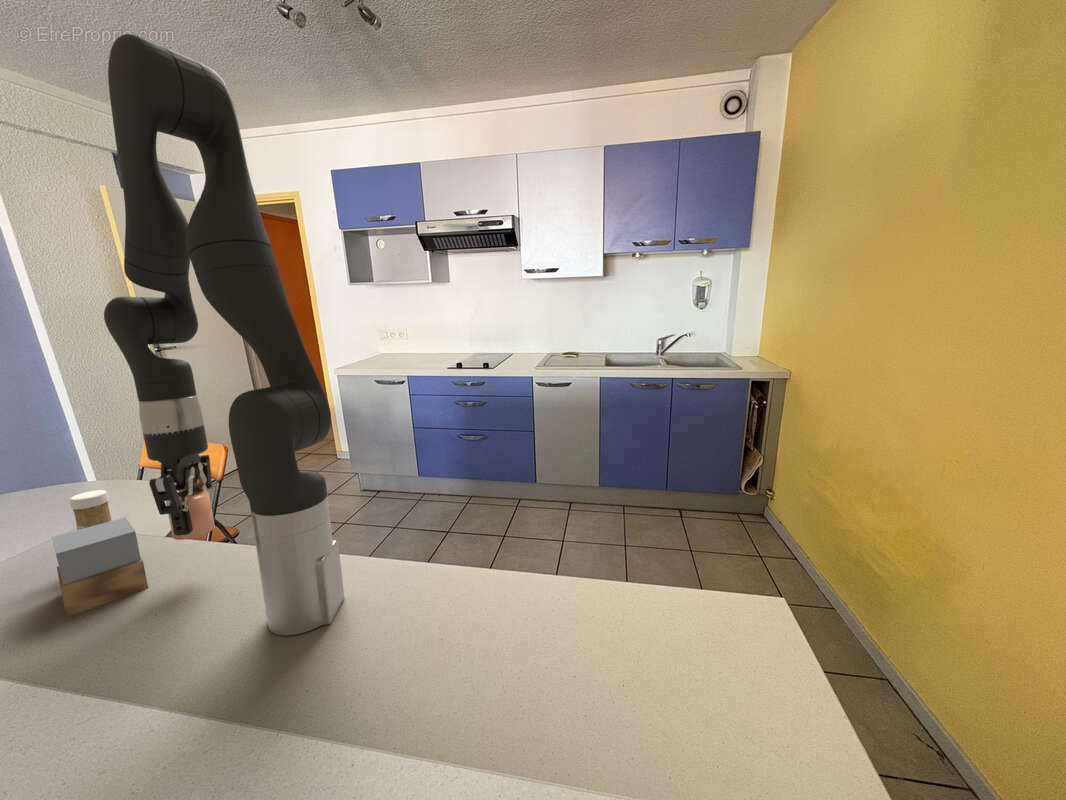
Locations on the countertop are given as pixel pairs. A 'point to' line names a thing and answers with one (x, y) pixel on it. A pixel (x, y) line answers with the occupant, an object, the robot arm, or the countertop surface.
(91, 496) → the sprinkles bottle
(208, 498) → the terracotta cylinder
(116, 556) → the slate top block
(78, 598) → the walnut base block
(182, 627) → the countertop surface
